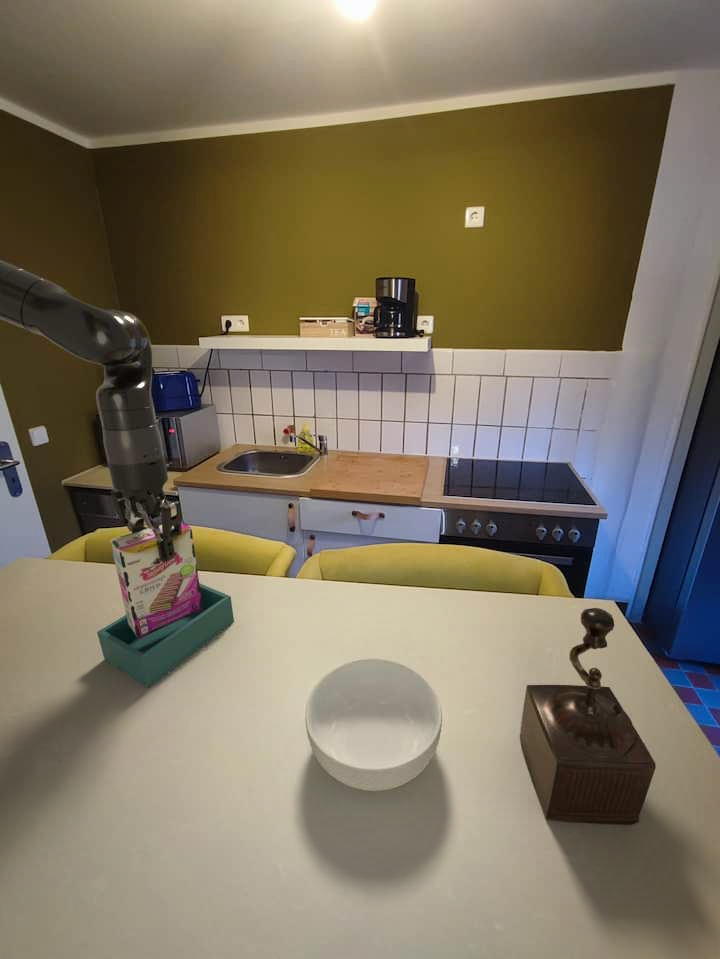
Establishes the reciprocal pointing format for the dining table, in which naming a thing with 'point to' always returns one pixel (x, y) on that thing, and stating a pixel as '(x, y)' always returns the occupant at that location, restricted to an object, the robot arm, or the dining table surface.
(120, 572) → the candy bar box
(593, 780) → the manual coffee grinder
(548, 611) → the dining table surface
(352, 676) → the cereal bowl
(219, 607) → the open rectangular box
